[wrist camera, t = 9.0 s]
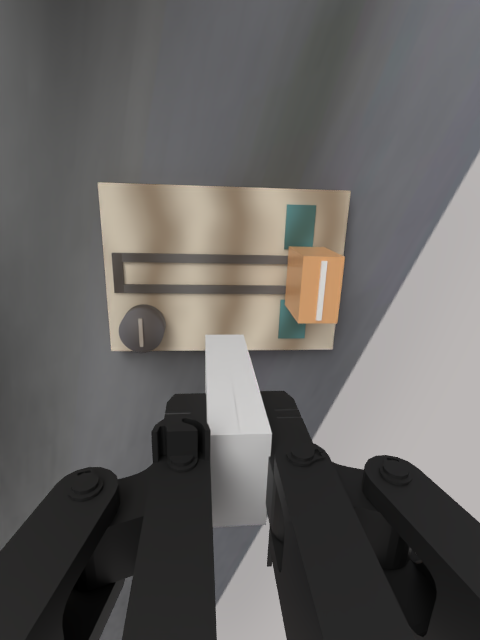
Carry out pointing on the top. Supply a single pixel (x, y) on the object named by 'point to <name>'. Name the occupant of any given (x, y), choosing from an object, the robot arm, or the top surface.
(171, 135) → the top surface
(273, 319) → the console
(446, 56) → the top surface
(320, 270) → the fader knob
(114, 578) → the robot arm
